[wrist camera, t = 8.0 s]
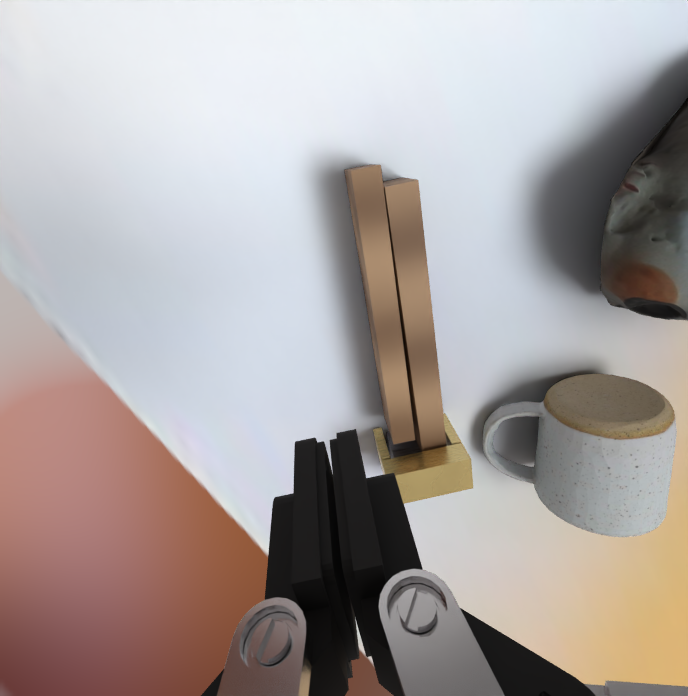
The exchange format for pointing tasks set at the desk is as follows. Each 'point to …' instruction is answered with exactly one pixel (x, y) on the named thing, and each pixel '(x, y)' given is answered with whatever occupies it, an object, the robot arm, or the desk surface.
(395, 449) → the block
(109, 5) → the desk surface
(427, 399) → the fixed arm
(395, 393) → the bar
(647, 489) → the ceramic mug
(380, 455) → the collar
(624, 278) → the lucky cat figurine
